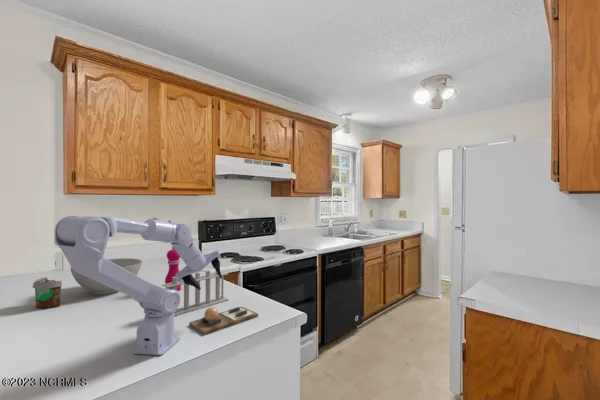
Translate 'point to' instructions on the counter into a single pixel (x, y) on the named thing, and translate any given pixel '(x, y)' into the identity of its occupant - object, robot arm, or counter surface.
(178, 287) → the pepper mill
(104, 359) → the counter surface
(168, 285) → the test tube rack
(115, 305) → the counter surface
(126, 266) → the decorative bowl
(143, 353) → the robot arm
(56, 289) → the food container
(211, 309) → the terracotta ball
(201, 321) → the cradle board
